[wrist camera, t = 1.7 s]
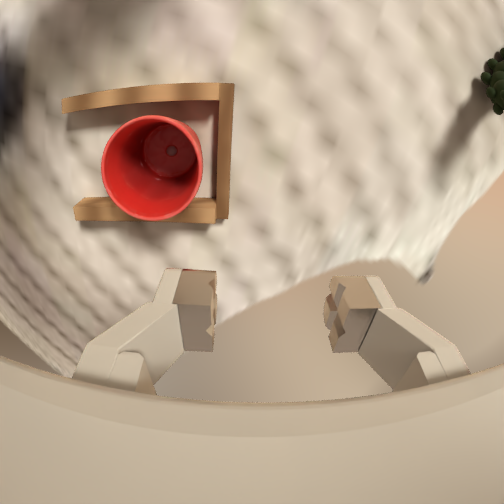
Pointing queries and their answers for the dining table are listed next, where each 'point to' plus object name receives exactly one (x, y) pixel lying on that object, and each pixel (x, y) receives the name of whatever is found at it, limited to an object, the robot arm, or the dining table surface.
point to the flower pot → (152, 167)
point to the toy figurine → (495, 83)
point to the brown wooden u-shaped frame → (199, 207)
